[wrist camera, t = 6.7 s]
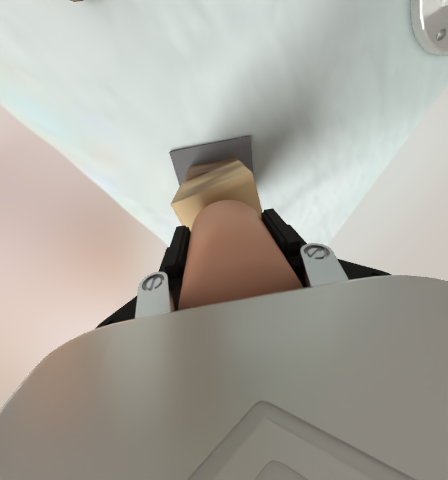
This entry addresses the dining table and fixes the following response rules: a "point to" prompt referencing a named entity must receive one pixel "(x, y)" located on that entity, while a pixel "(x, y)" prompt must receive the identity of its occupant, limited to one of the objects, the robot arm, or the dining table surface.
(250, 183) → the tower top
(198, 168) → the block
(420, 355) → the robot arm
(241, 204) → the peach egg-shaped pebble
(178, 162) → the mat
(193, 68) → the dining table surface
